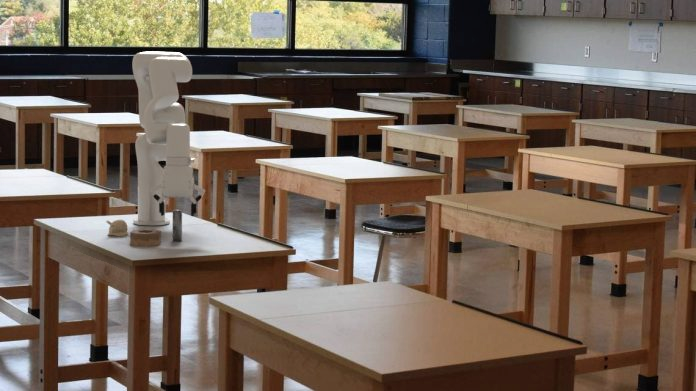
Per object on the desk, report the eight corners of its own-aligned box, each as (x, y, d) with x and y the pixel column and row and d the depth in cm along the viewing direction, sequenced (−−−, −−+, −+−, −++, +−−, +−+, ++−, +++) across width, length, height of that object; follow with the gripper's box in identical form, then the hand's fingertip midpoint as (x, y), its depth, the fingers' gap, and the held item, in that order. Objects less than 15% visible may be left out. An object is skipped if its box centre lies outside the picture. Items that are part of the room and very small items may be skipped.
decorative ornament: (131, 235, 385) (131, 219, 384) (108, 237, 380) (108, 221, 379) (125, 233, 388) (125, 217, 387) (102, 235, 383) (102, 219, 382)
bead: (133, 241, 373) (133, 228, 373) (162, 241, 373) (162, 229, 373) (128, 246, 364) (128, 233, 364) (157, 246, 364) (157, 234, 364)
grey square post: (173, 240, 377) (173, 209, 376) (182, 240, 377) (182, 209, 376) (171, 241, 374) (172, 210, 373) (181, 241, 374) (181, 211, 373)
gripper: (206, 161, 376) (206, 214, 378) (152, 160, 376) (152, 213, 378) (203, 163, 369) (203, 217, 371) (148, 162, 369) (148, 216, 371)
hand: (177, 215), depth 374 cm, fingers open, 9 cm apart
